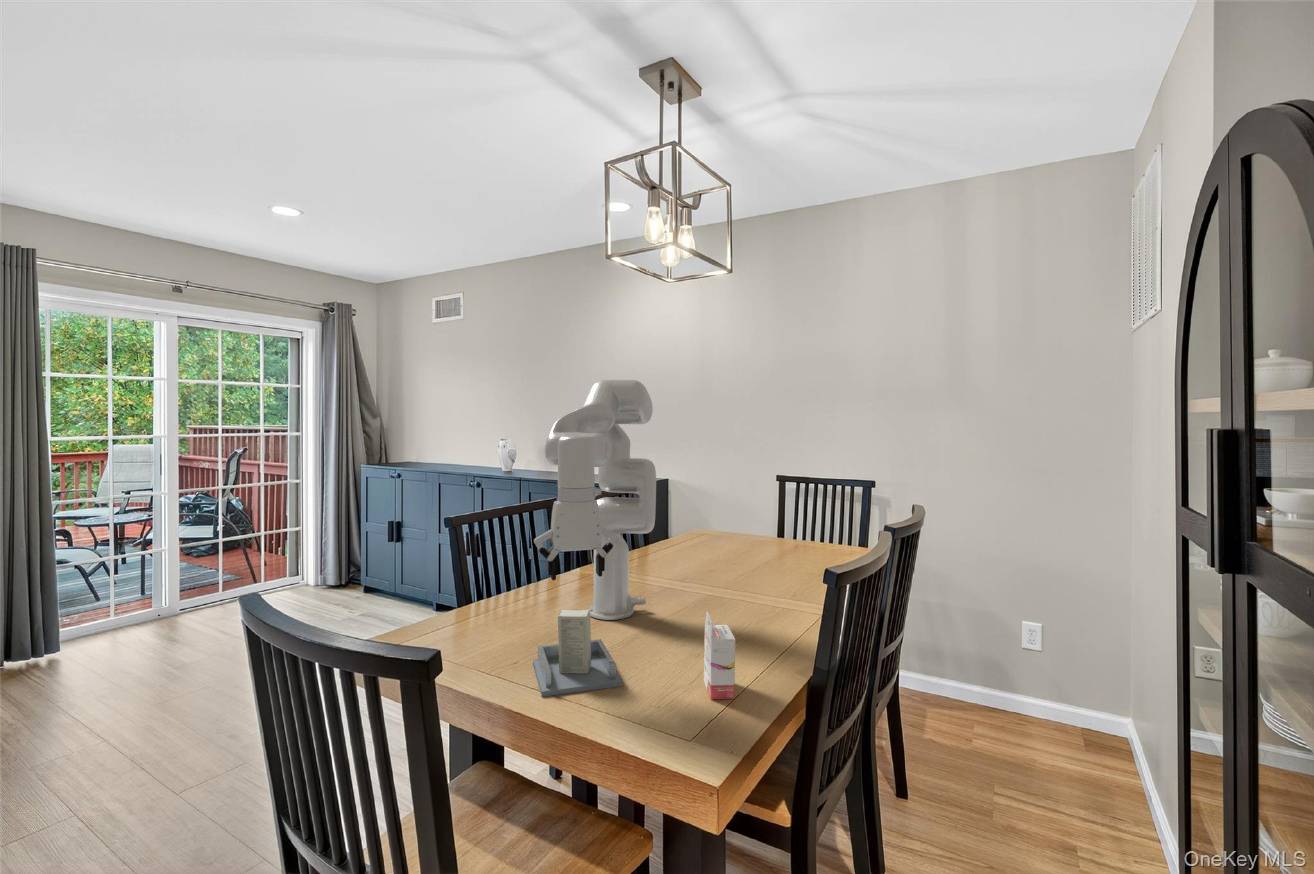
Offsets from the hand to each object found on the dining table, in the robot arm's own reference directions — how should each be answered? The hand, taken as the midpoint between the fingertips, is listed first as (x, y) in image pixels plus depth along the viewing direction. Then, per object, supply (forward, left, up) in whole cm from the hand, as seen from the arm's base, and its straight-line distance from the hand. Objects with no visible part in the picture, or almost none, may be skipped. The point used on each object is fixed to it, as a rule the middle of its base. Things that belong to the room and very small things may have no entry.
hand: (576, 576), depth 127 cm
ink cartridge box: (-26, +15, -21) cm, 37 cm away
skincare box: (0, 0, -20) cm, 20 cm away
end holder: (0, 0, -21) cm, 21 cm away
